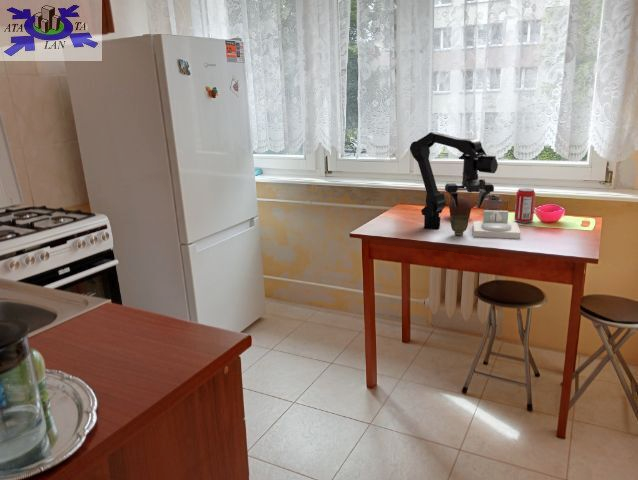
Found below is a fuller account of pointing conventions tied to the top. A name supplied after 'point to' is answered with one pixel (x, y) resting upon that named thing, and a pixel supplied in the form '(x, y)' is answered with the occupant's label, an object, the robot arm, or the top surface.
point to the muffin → (460, 207)
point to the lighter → (493, 203)
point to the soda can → (524, 205)
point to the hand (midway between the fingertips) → (467, 207)
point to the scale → (496, 225)
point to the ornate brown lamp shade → (459, 224)
